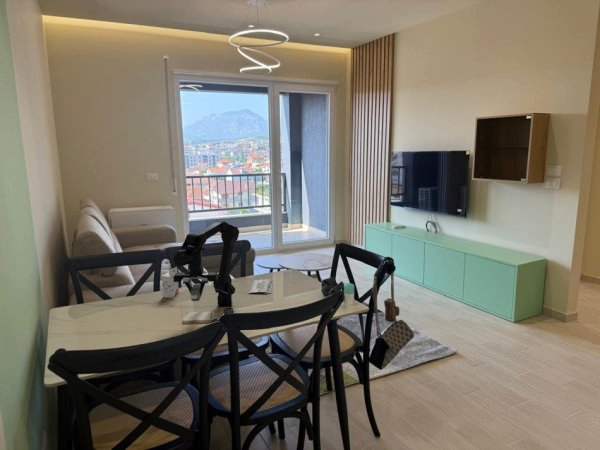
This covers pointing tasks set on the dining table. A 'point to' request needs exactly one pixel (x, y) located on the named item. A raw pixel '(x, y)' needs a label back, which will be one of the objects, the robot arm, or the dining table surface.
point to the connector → (195, 292)
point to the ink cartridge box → (169, 284)
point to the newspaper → (261, 286)
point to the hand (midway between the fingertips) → (196, 295)
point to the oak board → (197, 317)
